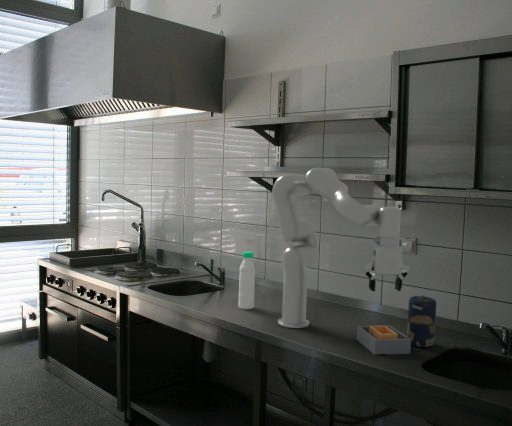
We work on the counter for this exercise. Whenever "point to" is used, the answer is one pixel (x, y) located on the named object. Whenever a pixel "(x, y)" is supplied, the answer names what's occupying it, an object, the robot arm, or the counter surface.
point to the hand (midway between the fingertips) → (385, 290)
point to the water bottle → (246, 282)
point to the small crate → (382, 332)
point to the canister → (421, 321)
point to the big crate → (384, 342)
